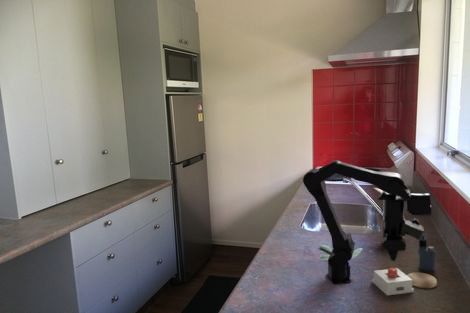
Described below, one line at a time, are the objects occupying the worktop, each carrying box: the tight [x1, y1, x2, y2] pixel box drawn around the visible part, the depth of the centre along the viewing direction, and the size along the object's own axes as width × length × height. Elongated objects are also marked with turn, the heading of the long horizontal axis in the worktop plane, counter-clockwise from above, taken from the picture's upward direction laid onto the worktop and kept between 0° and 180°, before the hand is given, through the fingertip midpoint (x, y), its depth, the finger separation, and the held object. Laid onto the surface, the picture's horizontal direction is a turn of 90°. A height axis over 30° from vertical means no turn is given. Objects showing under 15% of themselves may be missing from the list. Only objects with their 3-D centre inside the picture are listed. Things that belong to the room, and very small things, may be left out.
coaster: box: [406, 271, 438, 289], centre depth 123 cm, size 9×9×1 cm
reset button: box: [387, 267, 397, 278], centre depth 120 cm, size 3×3×4 cm
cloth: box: [319, 244, 363, 262], centre depth 150 cm, size 20×22×2 cm
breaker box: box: [371, 267, 415, 296], centre depth 120 cm, size 9×9×4 cm
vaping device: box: [418, 234, 436, 271], centre depth 131 cm, size 3×5×12 cm, turn 56°
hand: (393, 260), depth 119 cm, fingers closed
